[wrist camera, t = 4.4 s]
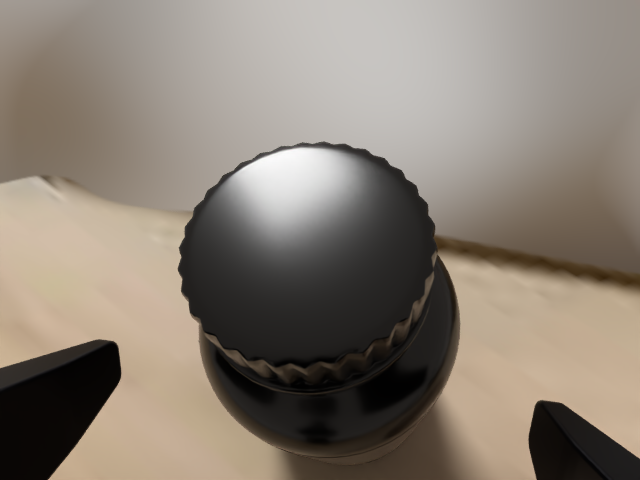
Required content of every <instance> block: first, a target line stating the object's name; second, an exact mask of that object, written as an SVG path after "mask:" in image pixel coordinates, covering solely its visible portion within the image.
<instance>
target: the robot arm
mask: <svg viewBox="0 0 640 480" xmlns="http://www.w3.org/2000/svg"><path fill="white" fill-rule="evenodd" d="M120 378H121V364H120V356H119V348H118V345H117V344H116V343H115V342H114V341H108V340H101V339H98V340H94V341H90V342H87V343H84V344H80V345H77V346H74V347H70V348H67V349H63V350H60V351H57V352H53V353H50V354H47V355H43V356H40V357H37V358H33V359H30V360H27V361H23V362H20V363H16V364H13V365H10V366H6V367H3V368H0V480H48V479H49V478H50V477H51V476H52V474H53V473H54V472H55V471H56V469H57V468H58V467H59V466H60V464H61V463H62V462H63V461H64V460H65V458H66V457H67V456H68V455H69V453H70V452H71V451H72V450H73V448H74V447H75V446H76V444H77V443H78V442H79V440H80V439H81V438H82V436H83V435H84V433H85V432H86V430H87V429H88V428H89V426H90V425H91V423H92V422H93V420H94V419H95V417H96V416H97V414H98V413H99V411H100V410H101V409H102V407H103V406H104V404H105V403H106V401H107V400H108V398H109V397H110V395H111V394H112V392H113V391H114V390H115V388H116V387H117V385H118V383H119V381H120ZM529 449H530V454H531V458H532V462H533V466H534V470H535V474H536V479H537V480H640V459H639V458H638V457H636V456H635V455H634V454H632V453H631V452H629V451H628V450H627V449H625V448H624V447H622V446H621V445H620V444H618V443H617V442H615V441H614V440H613V439H611V438H610V437H608V436H607V435H606V434H604V433H603V432H601V431H600V430H599V429H597V428H596V427H594V426H593V425H592V424H590V423H589V422H588V421H586V420H585V419H583V418H582V417H581V416H579V415H578V414H576V413H575V412H574V411H572V410H571V409H569V408H568V407H567V406H565V405H564V404H562V403H559V402H551V401H544V400H540V401H538V402H537V403H536V405H535V408H534V413H533V418H532V422H531V427H530V432H529Z"/></svg>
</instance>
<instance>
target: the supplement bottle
mask: <svg viewBox="0 0 640 480" xmlns="http://www.w3.org/2000/svg"><path fill="white" fill-rule="evenodd" d="M434 234H435V224H434V223H433V221H432V219H431V218H430V217H429V216H428V204H427V203H426V202H425V201H424V200H423V199H422V198H421V197H420V196H419V194H418V189H417V186H416V185H415V184H413V183H412V182H410V181H408V180H407V179H406V178H405V176H404V173H403V172H402V170H400V169H397V168H395V167H392V166H390V164H389V163H388V161H387V160H385V158H382V157H378V156H374V155H372V154H371V153H370V152H369V151H367V150H366V149H359V148H352V147H351V146H349V145H347V144H335V145H333V144H330V143H327V142H319V143H315V144H309V143H300V144H297V145H294V146H281V147H279V148H277V149H275V150H273V151H271V152H265V153H260V154H259V155H257V156H256V157H255V158H253V159H252V160H249V161H245V162H242V163H240V164H239V165H238V166H237V167H236V168H235V170H234V171H231V172H229V173H227V174H225V175H223V176H222V178H221V179H220V181H219V182H218V184H216V185H215V186H213V187H212V188H210V189H209V190H208V191H207V193H206V195H205V198H204V200H203V201H201V202H200V203H199V204H198V205H197V206H196V207H195V208H194V212H193V217H192V219H191V220H190V221H189V222H188V223H187V225H186V226H185V238H184V239H183V241H182V243H181V245H180V247H179V251H180V254H181V260H180V263H179V266H178V272H179V274H180V276H181V278H182V286H181V292H182V295H183V296H184V297H185V298H186V300H187V301H188V302H189V310H190V314H191V316H192V318H193V319H194V320H196V321H197V322H198V323H199V345H200V353H201V357H202V362H203V366H204V369H205V372H206V375H207V378H208V380H209V382H210V384H211V386H212V388H213V391H214V392H215V394H216V395H217V397H218V399H219V400H220V402H221V403H222V405H223V406H224V407H225V409H226V410H227V411H228V412H229V413H230V414H231V416H232V417H233V418H234V419H235V420H236V421H237V422H238V423H240V424H241V425H242V426H243V427H244V428H246V429H247V430H248V431H249V432H251V433H252V434H254V435H255V436H257V437H258V438H260V439H261V440H263V441H265V442H267V443H269V444H271V445H272V446H274V447H276V448H279V449H282V450H285V451H287V452H290V453H293V454H297V455H300V456H304V457H307V458H311V459H315V460H318V461H322V462H326V463H330V464H337V465H356V464H363V463H367V462H370V461H373V460H376V459H378V458H381V457H383V456H385V455H386V454H388V453H390V452H391V451H393V450H394V449H395V448H396V447H398V446H399V445H400V444H401V443H402V442H403V441H404V440H405V439H406V438H407V437H408V436H409V435H410V434H411V433H412V431H413V430H414V429H415V428H416V426H417V425H418V424H419V423H420V421H421V420H422V419H423V418H424V416H425V415H426V414H427V413H428V411H429V410H430V409H431V408H432V406H433V405H434V403H435V402H436V400H437V399H438V397H439V396H440V394H441V393H442V391H443V389H444V387H445V385H446V383H447V381H448V379H449V376H450V374H451V371H452V368H453V366H454V363H455V359H456V355H457V351H458V345H459V339H460V313H459V306H458V300H457V296H456V292H455V289H454V285H453V283H452V280H451V278H450V275H449V273H448V271H447V269H446V267H445V265H444V263H443V262H442V260H441V259H440V257H439V256H438V254H437V252H438V250H437V246H436V243H435V240H434Z"/></svg>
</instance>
